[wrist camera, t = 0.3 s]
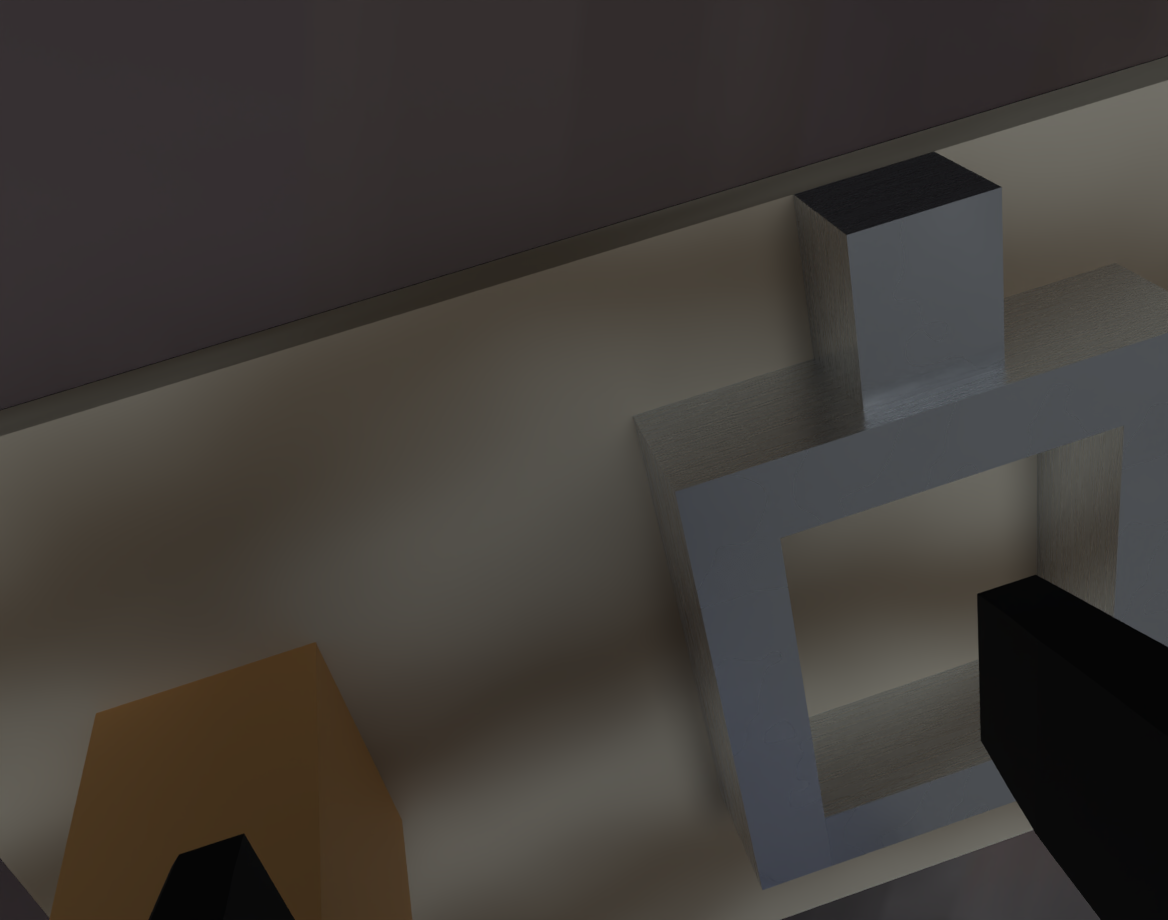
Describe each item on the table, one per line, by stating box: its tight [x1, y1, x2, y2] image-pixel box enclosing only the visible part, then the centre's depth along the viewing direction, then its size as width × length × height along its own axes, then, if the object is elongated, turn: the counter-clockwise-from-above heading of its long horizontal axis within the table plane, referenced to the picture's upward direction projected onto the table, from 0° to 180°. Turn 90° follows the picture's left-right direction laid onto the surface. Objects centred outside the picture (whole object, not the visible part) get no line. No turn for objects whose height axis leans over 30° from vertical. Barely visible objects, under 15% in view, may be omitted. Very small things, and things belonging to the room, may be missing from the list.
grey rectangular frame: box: [633, 152, 1168, 890], centre depth 19 cm, size 13×17×4 cm
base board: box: [0, 56, 1168, 920], centre depth 22 cm, size 18×32×1 cm, turn 103°
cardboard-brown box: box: [49, 642, 412, 920], centre depth 18 cm, size 5×4×6 cm
